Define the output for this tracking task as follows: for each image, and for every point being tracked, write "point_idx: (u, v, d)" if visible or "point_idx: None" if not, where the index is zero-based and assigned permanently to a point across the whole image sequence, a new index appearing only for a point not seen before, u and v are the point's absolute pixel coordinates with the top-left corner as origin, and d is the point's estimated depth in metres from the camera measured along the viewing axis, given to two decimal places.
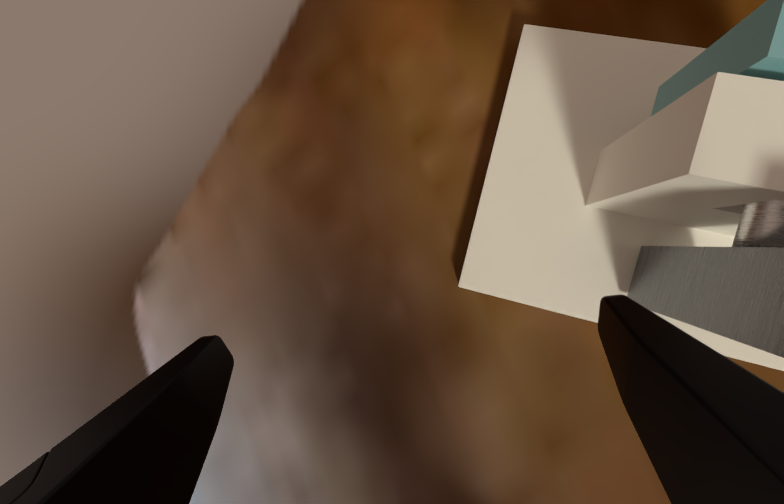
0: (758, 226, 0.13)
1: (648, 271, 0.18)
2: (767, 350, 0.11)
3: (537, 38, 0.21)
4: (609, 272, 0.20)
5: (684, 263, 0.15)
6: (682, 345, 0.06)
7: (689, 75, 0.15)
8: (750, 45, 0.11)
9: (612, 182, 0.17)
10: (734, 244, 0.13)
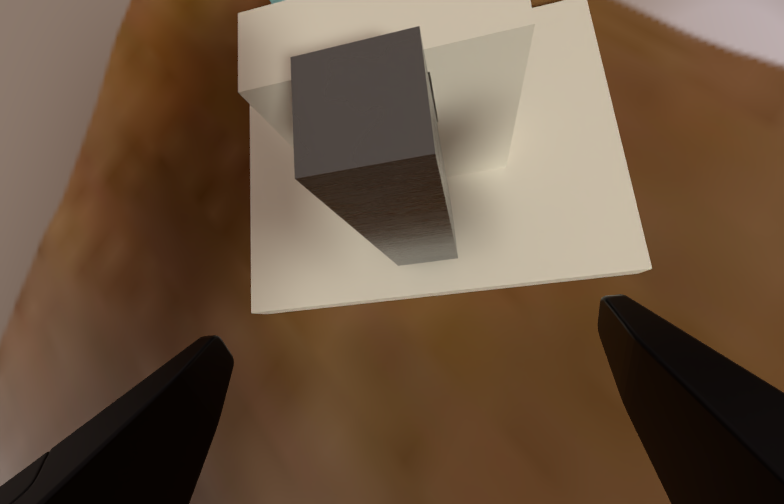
0: None
1: None
2: (331, 208, 0.10)
3: None
4: None
5: None
6: (682, 345, 0.06)
7: None
8: None
9: None
10: None
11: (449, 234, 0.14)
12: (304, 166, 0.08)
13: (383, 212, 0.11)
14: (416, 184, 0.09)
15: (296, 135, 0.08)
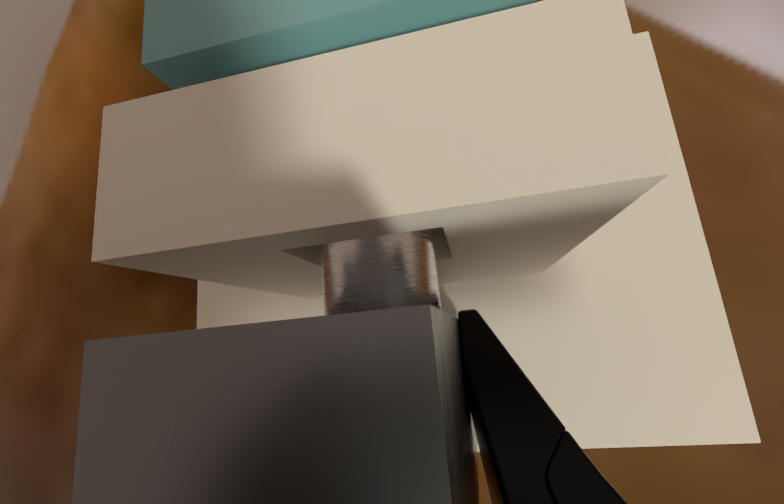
0: (323, 290, 0.08)
1: None
2: None
3: None
4: None
5: None
6: (493, 359, 0.07)
7: None
8: None
9: None
10: None
11: None
12: None
13: None
14: None
15: None
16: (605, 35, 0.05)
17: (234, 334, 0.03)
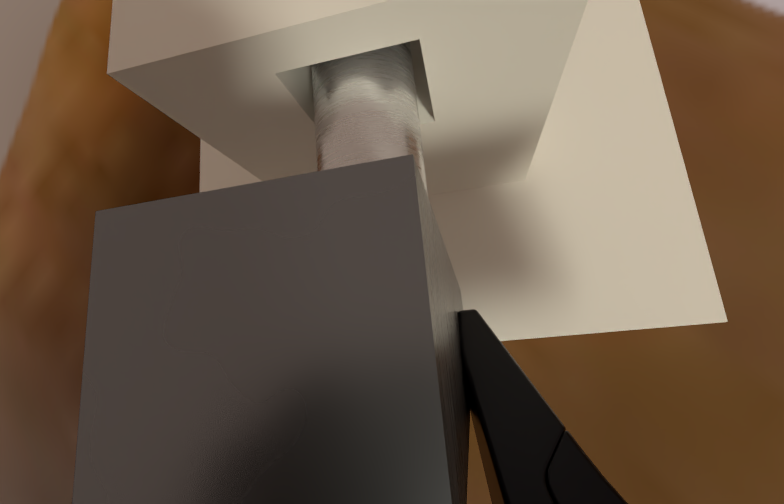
0: None
1: None
2: None
3: None
4: None
5: None
6: (493, 359, 0.07)
7: None
8: None
9: None
10: None
11: None
12: None
13: None
14: None
15: (82, 447, 0.03)
16: None
17: (234, 195, 0.03)
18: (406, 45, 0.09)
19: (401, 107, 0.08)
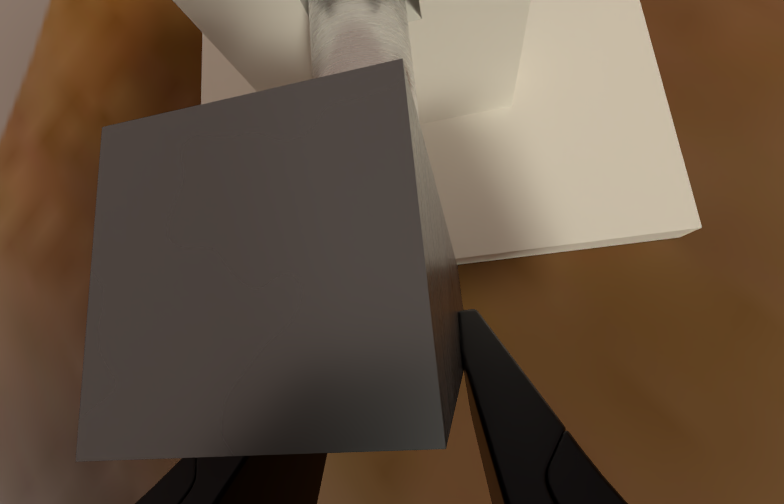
0: None
1: None
2: None
3: None
4: None
5: None
6: (493, 359, 0.07)
7: None
8: None
9: None
10: None
11: None
12: (101, 430, 0.03)
13: None
14: None
15: (90, 337, 0.03)
16: None
17: (234, 105, 0.03)
18: (402, 12, 0.09)
19: None
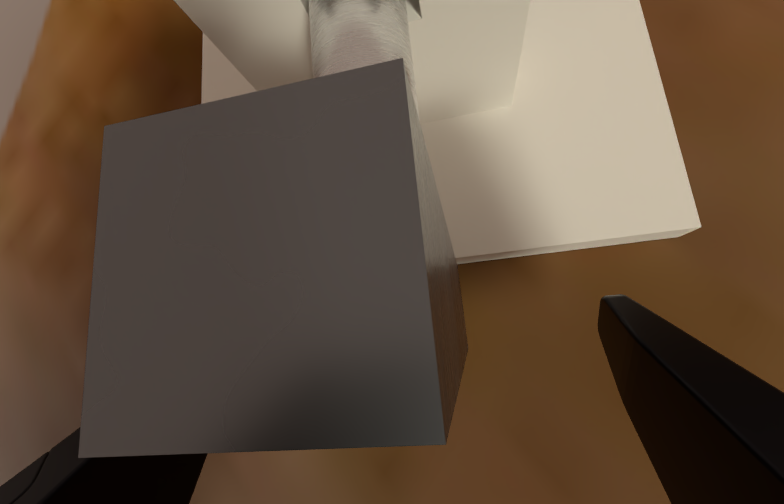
0: None
1: None
2: None
3: None
4: None
5: None
6: (682, 345, 0.06)
7: None
8: None
9: None
10: None
11: None
12: (103, 427, 0.03)
13: None
14: None
15: (93, 335, 0.03)
16: None
17: (236, 104, 0.03)
18: (402, 12, 0.09)
19: None
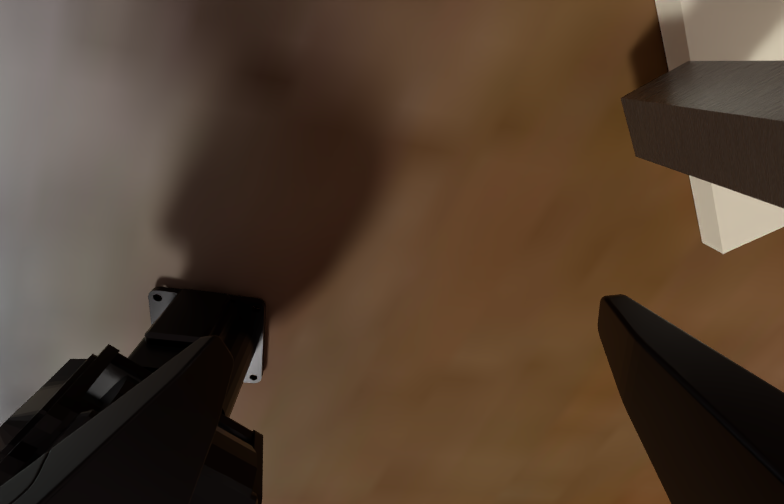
0: None
1: (684, 78, 0.15)
2: None
3: None
4: None
5: (762, 72, 0.13)
6: (682, 345, 0.06)
7: None
8: None
9: None
10: None
11: (720, 183, 0.14)
12: None
13: None
14: None
15: None
16: None
17: None
18: None
19: None
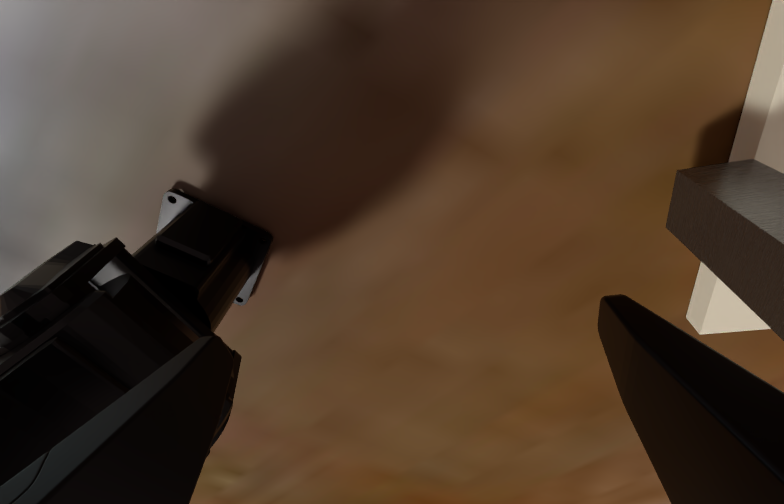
0: None
1: (743, 176, 0.16)
2: None
3: None
4: None
5: None
6: (682, 345, 0.06)
7: None
8: None
9: None
10: None
11: (731, 287, 0.15)
12: None
13: None
14: None
15: None
16: None
17: None
18: None
19: None
